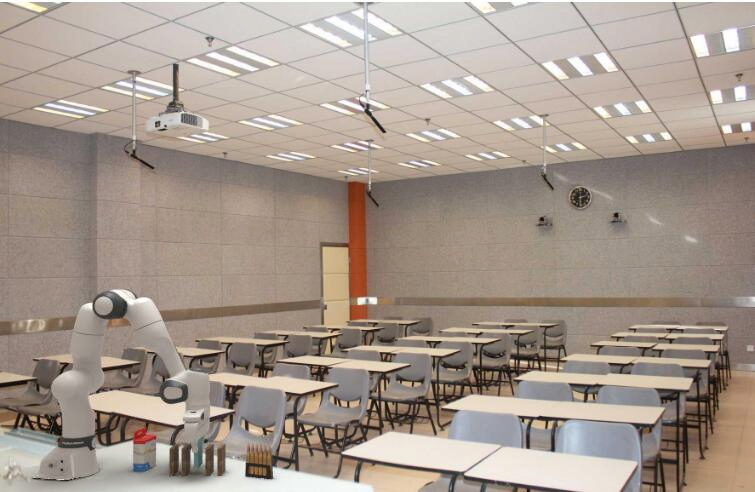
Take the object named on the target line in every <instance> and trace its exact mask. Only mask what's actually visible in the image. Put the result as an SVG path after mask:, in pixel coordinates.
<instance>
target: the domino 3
mask: <svg viewBox="0 0 755 492" xmlns="http://www.w3.org/2000/svg"><path fill="white" fill-rule="evenodd" d="M197 446H198V452H197V453H193V469H194V470H195V469H199V468H200V467H201V466H202V465H203V461H204V460H203V459H204V457H203V451H204V450H203V437H201V438H200V439H199V440H198V443H197Z"/></svg>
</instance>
